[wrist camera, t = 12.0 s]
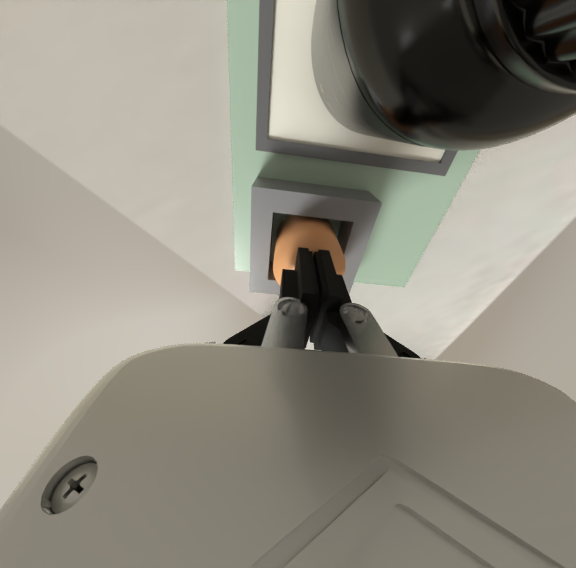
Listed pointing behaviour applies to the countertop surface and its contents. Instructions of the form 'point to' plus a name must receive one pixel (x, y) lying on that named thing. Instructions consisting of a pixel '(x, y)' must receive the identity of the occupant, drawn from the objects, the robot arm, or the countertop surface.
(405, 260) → the mint green tray
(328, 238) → the button
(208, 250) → the countertop surface
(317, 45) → the supplement bottle
